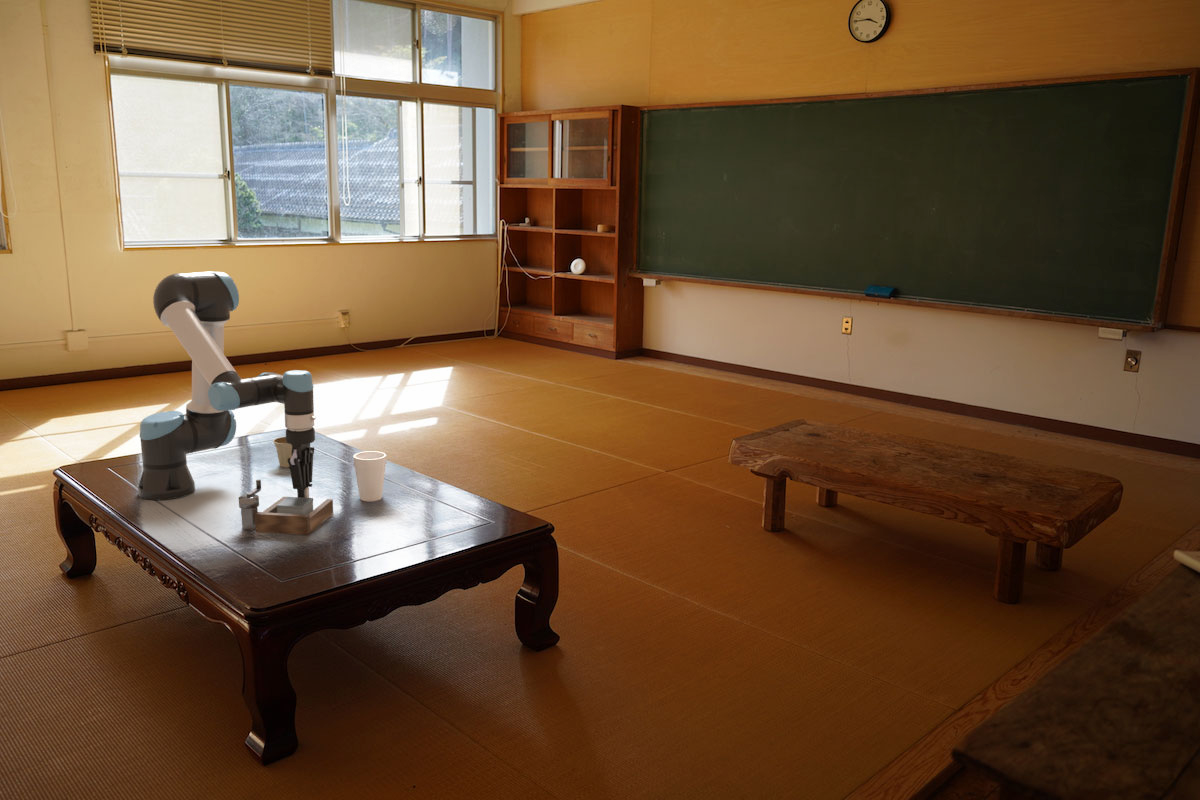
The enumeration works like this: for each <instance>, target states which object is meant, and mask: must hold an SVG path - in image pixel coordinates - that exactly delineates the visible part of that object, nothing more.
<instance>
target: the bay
mask: <svg viewBox="0 0 1200 800" xmlns="http://www.w3.org/2000/svg"><path fill="white" fill-rule="evenodd" d="M287 497H288V496H282V497H281V498H280V499H279V500H277V501H276V502H274V503H273V504H271V505H270V506H269V507H267V508H266V509H264V510H263V511H258V512H257V513H255V529H254V530H255V533H264V534H283V535H284V534H285V535H287V534H288V535H301V536H302V535H303V536H308V535H310V534H311V533H312V532H313V531H315V528H316V529H317V528H318V527H319V526H321V524H323V521H324V520H325V519H326V518H327V519H328V518H329V517H330V516H332V515H333V514H334V503H333V502H334V500H333V499H332V498H330V499H329V498H326V499H325V500H324V501H323V502H322V503H320V504H319V505H318V506H317V507H316V508H313V511H312V512H311V513H310V514H308V515H303V514H285V513H277V505H278V504H279V503H280V502H281V501H283V500H284V499H285V498H287ZM332 513H333V514H332ZM327 519H326V520H327ZM326 520H325V521H326ZM325 521H324V522H325Z"/></svg>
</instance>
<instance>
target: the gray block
mask: <svg viewBox="0 0 1200 800" xmlns="http://www.w3.org/2000/svg"><path fill="white" fill-rule="evenodd" d="M286 497H287V498H285V499H284V500H283V501H281V502H280V503H279V504H278V505H277V513H285V514H303V515H308V514H310V513H311V512H312V511H313V510H314V497H309V498H303V497H297V496H286Z"/></svg>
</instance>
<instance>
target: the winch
mask: <svg viewBox="0 0 1200 800" xmlns="http://www.w3.org/2000/svg"><path fill="white" fill-rule="evenodd" d="M255 484H256V486H255V487H256V488H254V489H252V490H251V491H250V492H248V493H246V494H243V495H240V496H238V508H240V511H241V512H240V513H241V529H242V530H251V531H252V530H253V531H254V530H255V513H257V512H259V510H258V507H260V497H259V495H258V493H259V492H261V490H262V480H261V479H256V480H255Z"/></svg>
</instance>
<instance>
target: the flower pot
mask: <svg viewBox="0 0 1200 800" xmlns="http://www.w3.org/2000/svg"><path fill="white" fill-rule="evenodd" d="M272 442H273V444H274V447H275V449H276V453H277V459H278V463H279V467H281V468H286V469H287V468H290V466H289V464H288V458H291V457H292V454H291V451H292V445H291V444H289V443H287V442H286V436H280V437H276V438H275V439H273V440H272Z"/></svg>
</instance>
